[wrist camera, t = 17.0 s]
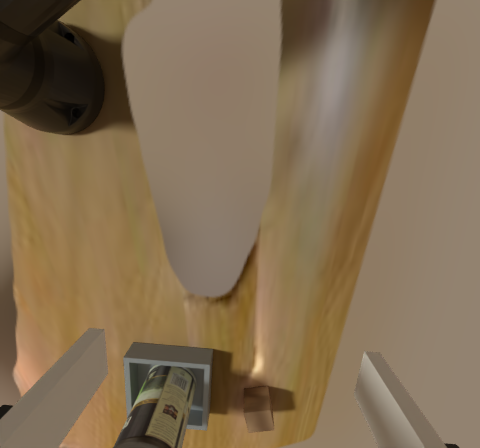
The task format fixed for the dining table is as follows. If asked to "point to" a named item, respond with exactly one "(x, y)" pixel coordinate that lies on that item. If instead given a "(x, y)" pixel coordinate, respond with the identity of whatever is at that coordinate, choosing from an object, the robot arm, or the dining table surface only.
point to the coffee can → (160, 410)
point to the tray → (150, 355)
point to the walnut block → (258, 409)
